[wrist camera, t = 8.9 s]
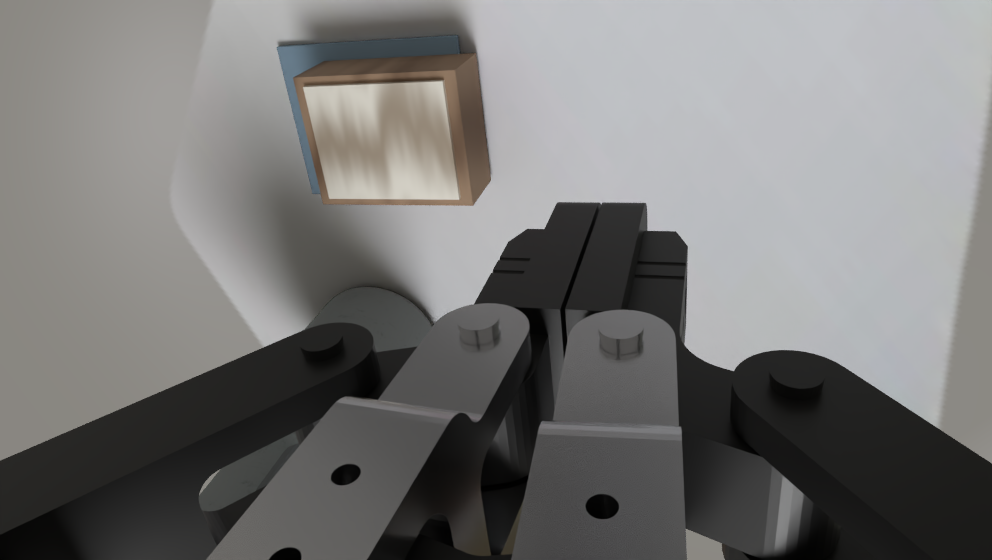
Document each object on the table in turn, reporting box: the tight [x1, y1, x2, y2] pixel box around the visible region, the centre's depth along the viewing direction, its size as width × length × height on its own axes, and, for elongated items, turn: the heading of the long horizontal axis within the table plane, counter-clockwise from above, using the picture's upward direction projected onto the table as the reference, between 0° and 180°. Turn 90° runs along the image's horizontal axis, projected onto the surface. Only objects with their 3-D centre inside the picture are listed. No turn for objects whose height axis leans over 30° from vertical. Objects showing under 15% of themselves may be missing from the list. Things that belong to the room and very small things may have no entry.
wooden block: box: [293, 53, 491, 206], centre depth 44 cm, size 8×4×10 cm
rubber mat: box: [277, 35, 460, 194], centre depth 47 cm, size 10×12×1 cm
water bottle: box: [199, 287, 432, 511], centre depth 45 cm, size 10×10×28 cm
